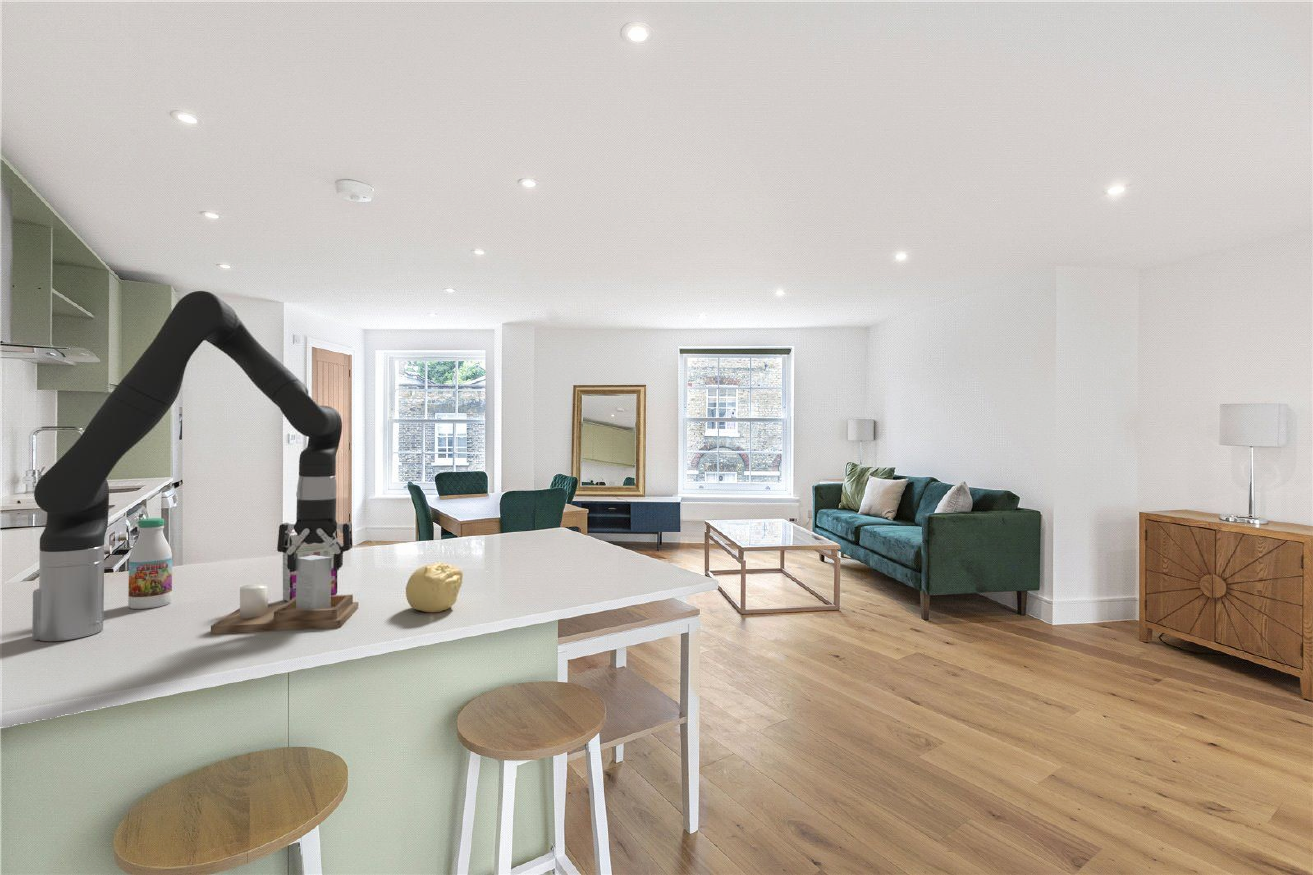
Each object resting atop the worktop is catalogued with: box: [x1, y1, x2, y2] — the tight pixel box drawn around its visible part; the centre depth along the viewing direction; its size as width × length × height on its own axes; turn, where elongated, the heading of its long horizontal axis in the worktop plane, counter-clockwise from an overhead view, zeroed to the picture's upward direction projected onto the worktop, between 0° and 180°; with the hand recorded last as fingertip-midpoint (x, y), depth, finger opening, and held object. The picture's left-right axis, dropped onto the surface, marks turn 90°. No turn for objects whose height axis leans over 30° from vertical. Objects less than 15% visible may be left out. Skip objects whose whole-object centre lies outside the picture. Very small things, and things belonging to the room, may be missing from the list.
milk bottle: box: [127, 517, 173, 610], centre depth 139 cm, size 8×8×20 cm
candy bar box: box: [282, 529, 338, 603], centre depth 148 cm, size 11×5×16 cm, turn 143°
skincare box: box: [296, 555, 331, 610], centre depth 131 cm, size 6×4×12 cm
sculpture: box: [405, 561, 464, 613], centre depth 140 cm, size 12×12×11 cm
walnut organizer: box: [210, 583, 359, 635], centre depth 130 cm, size 24×14×8 cm, turn 103°
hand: (315, 570), depth 131 cm, fingers open, 8 cm apart
